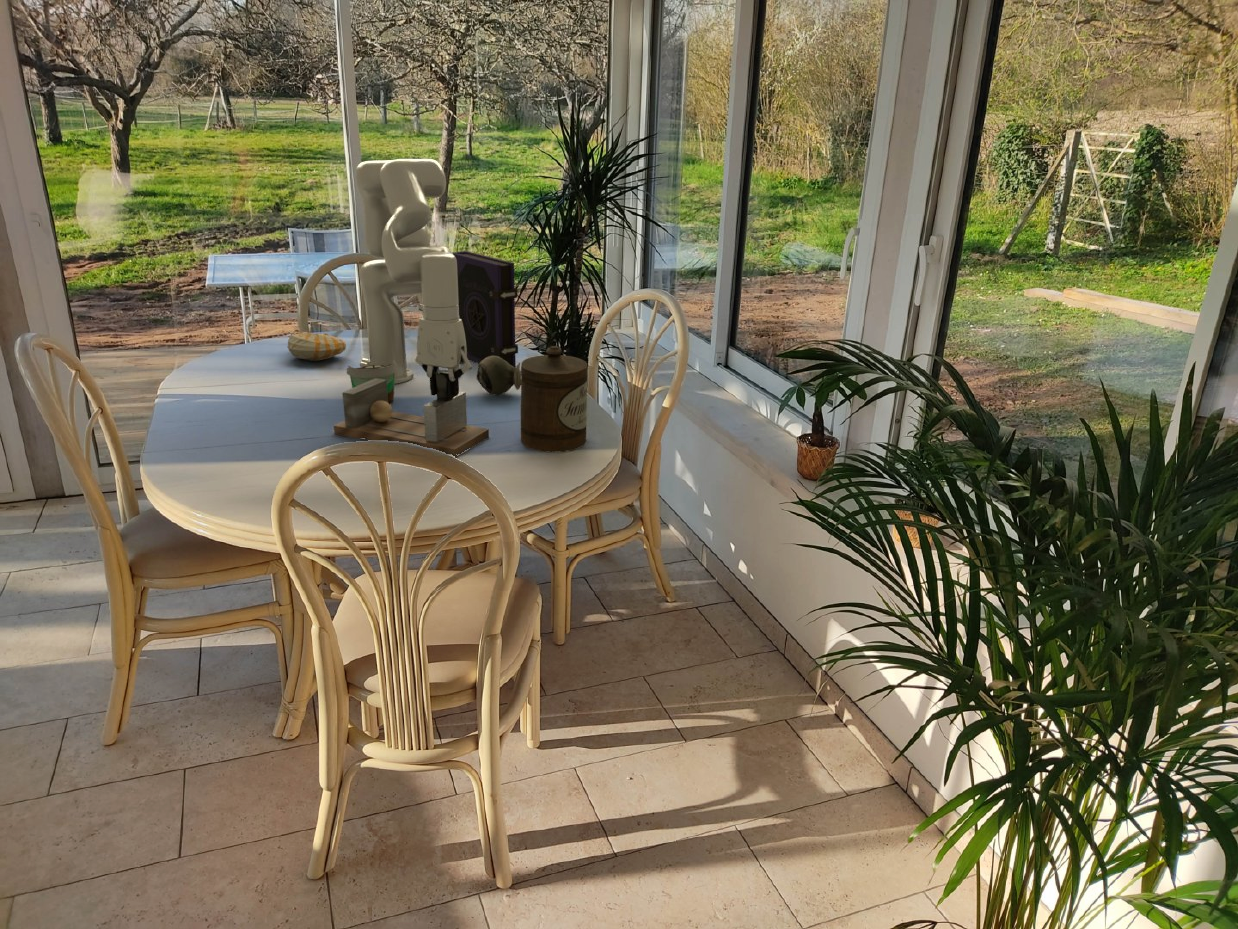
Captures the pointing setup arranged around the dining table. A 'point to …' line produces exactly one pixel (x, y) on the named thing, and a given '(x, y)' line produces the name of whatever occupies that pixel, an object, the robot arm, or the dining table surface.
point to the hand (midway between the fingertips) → (444, 394)
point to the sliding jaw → (444, 411)
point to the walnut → (381, 411)
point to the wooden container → (553, 402)
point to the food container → (374, 376)
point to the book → (487, 306)
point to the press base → (396, 422)
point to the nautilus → (315, 346)
